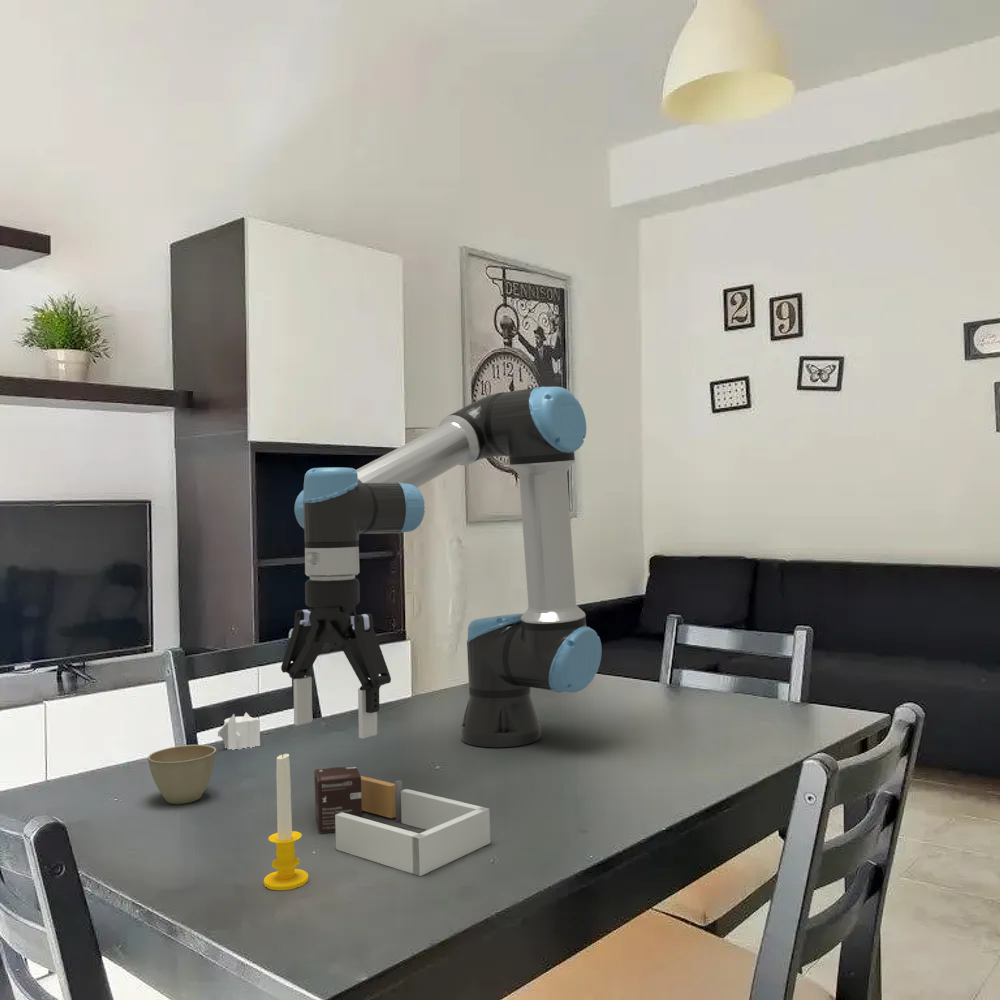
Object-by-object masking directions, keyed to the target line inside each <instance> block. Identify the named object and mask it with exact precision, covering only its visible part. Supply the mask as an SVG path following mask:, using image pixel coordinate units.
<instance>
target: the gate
mask: <svg viewBox="0 0 1000 1000" xmlns="http://www.w3.org/2000/svg"><path fill="white" fill-rule="evenodd" d="M360 776H361V797H362V812H363V811H364V812H367V813H370V814H375V815H378V816H381V817H385V818H388V819H389V818H390V819H394V818H396V802H395V783H392V782H389V781H385V780H379V779H376V778H372V777H367V776H364V775H363V776H362V775H360Z"/></svg>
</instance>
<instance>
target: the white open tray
mask: <svg viewBox="0 0 1000 1000" xmlns="http://www.w3.org/2000/svg"><path fill="white" fill-rule="evenodd" d="M394 784H395V802H396V817H395V821H396V822H398V823H401V824H403V825H406V826H407V825H408V826H410V827H413V828H418V829H421V830H424V831H421V832H420V833H418V832H415V831H410V830H407V829H403V828H400V827H398V826H394V825H390V824H386V823H382V822H378V821H376V820H375V821H374V820H373V819H372V820H371V819H369V818H364V817H362V818H361V817H358V816H354V815H350V814H347V813H343V812H341V813H339V814H336V815H335V826H336V832H335V850H338V851H340V852H343V853H346V854H349V855H352V856H356V857H359V858H362V859H364V860H367V861H372V862H375V863H377V864H381V865H384V866H387V867H391V868H393V869H397V870H400V871H403V872H406V873H409V874H412V875H416V876H418V877H421V876H424V875H426V874H428V873H429V872H433V871H434V870H437V869H439V868H441V867H443V866H446V865H448V864H449V863H451V862H453V861H455V860H457V859H460V858H462V857H464V856H466V855H468V854H471V853H473V852H474V851H477V850H479V849H480V848H483V847H484V846H487V845H489V844H491V821H490V819H491V818H490V817H491V816H490V813H491V812H490V808H488V807H485V806H484V807H483V806H479V805H475V804H471V803H467V802H463V801H459V800H455V799H451V798H447V797H442V796H437V795H434V794H430V793H426V792H421V791H417V790H413V789H409V788H404V789H403V780H396V781H394Z"/></svg>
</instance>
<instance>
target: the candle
mask: <svg viewBox="0 0 1000 1000" xmlns="http://www.w3.org/2000/svg"><path fill="white" fill-rule="evenodd" d="M275 770H276V773H275V774H276V777H275V778H276V813H277V814H276V819H277V820H276V823H277V826H276V829H277V831H276V832H275V833H273V834H271V835H270V836H268V841H269V842H271V843H273V844H275V847H276V850H275V854H276V858H274V860H273V861H272V863H271V866H272V868H273V869H275V870H276V871H274V872H273V871H272V872H271V873H268V874H267V875H265V877H264V879H263V886H264V887H265V888H266V887H267V888H266V889H268V890H271V891H288V890H289V891H290V890H295V889H298V888H301V887H302V886H304V885H306V884H307V883H308V881H309V873H308V872H307V871H305V870H303V869H300V868H296V867H298V866H299V865H300V858H299V857H297V856H295V853H296V848H295V843H296V841H298V840H300V839H301V838H302V836H303V835H302V833H301V832H299V831H296V830H295V831H294V830H293V824H292V823H293V822H292V821H293V817H292V816H293V815H292V795H291V794H292V792H291V789H292V787H291V765H290V754H289V753H284V750H282V754H279V755H278V756H277V757H276V769H275ZM306 882H307V883H306ZM297 887H298V888H297Z"/></svg>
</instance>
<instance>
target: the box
mask: <svg viewBox="0 0 1000 1000" xmlns="http://www.w3.org/2000/svg"><path fill="white" fill-rule="evenodd" d="M313 775H314V798H315V799H314V807H315V809H314V815H315V822H316V827H317V830H318V832H319V834H326V833H336V826H335V815H336V814H339V813H341V812H343V813H347V814H350V815H354V816H358V817H361V818H363V810H362V797H361V776H362V775H361V774H360V772H359V770H358V767H357V766H341V767H340V766H339V767H338V766H337V767H328V768H319V769H315V770H314V774H313Z"/></svg>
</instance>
